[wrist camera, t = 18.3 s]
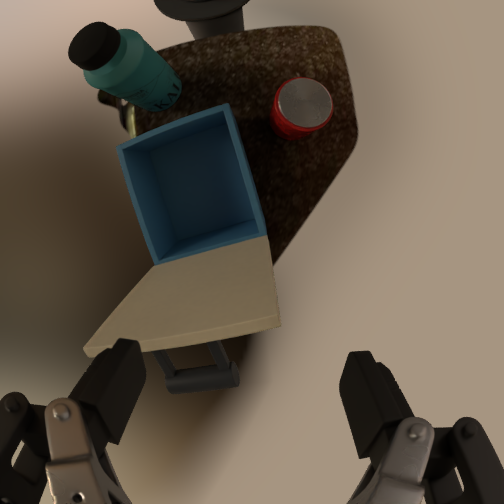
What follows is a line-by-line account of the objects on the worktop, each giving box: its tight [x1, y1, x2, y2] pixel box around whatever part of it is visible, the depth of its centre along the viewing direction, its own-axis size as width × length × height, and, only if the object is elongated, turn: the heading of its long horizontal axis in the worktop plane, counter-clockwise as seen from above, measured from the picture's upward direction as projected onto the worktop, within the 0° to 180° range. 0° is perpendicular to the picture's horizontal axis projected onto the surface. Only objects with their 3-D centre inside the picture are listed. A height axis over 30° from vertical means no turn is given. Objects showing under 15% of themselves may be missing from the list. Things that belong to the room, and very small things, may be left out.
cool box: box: [116, 103, 267, 266], centre depth 31 cm, size 14×13×9 cm
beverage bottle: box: [68, 22, 182, 112], centre depth 21 cm, size 6×7×20 cm
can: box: [269, 77, 333, 141], centre depth 27 cm, size 6×6×11 cm
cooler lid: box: [83, 235, 281, 394], centre depth 22 cm, size 15×13×6 cm
